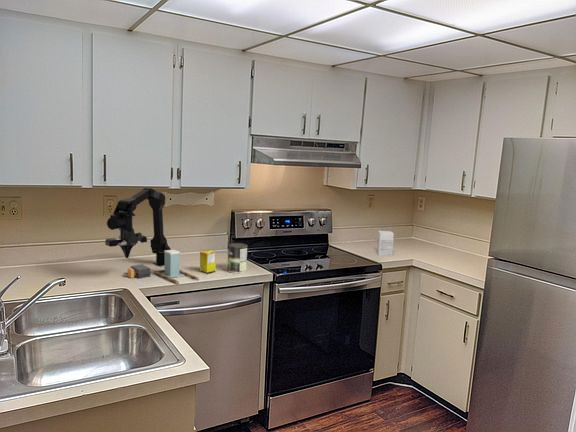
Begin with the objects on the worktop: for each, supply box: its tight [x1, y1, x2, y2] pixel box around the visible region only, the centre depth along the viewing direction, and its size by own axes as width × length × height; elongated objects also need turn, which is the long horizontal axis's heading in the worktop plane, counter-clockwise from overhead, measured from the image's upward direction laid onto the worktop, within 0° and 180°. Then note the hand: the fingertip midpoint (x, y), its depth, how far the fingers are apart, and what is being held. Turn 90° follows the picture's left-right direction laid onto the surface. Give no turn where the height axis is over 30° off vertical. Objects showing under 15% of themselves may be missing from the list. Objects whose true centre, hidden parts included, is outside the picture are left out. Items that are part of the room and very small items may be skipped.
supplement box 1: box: [199, 249, 217, 275], centre depth 243 cm, size 6×6×11 cm
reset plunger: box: [126, 267, 136, 279], centre depth 230 cm, size 4×7×4 cm, turn 134°
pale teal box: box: [164, 249, 181, 276], centre depth 234 cm, size 6×5×12 cm
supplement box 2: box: [376, 230, 395, 257], centre depth 301 cm, size 9×9×15 cm
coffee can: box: [227, 242, 248, 274], centre depth 247 cm, size 10×10×14 cm
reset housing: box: [130, 264, 151, 279], centre depth 231 cm, size 9×6×4 cm, turn 43°
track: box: [153, 269, 199, 285], centre depth 232 cm, size 22×12×1 cm, turn 43°
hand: (126, 257), depth 226 cm, fingers closed
